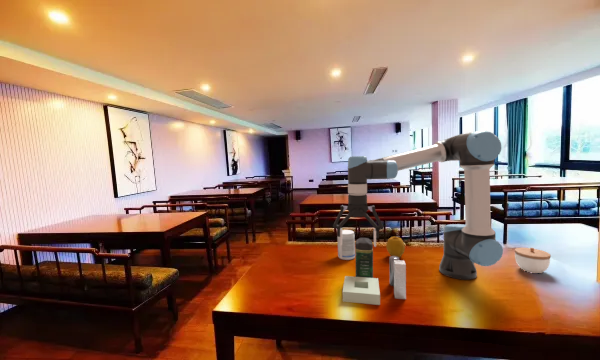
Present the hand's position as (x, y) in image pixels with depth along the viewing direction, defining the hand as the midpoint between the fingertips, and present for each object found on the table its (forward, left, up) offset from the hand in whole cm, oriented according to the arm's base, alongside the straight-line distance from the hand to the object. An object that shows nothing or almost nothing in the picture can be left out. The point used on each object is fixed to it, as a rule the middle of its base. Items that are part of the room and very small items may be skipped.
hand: (357, 245), depth 108 cm
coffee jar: (-2, -13, -20) cm, 24 cm away
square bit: (-16, +1, -20) cm, 26 cm away
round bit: (-15, -9, -20) cm, 27 cm away
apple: (-19, -42, -20) cm, 51 cm away
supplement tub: (+8, -38, -20) cm, 44 cm away
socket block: (-1, +2, -20) cm, 20 cm away
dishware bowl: (-79, -34, -20) cm, 88 cm away
